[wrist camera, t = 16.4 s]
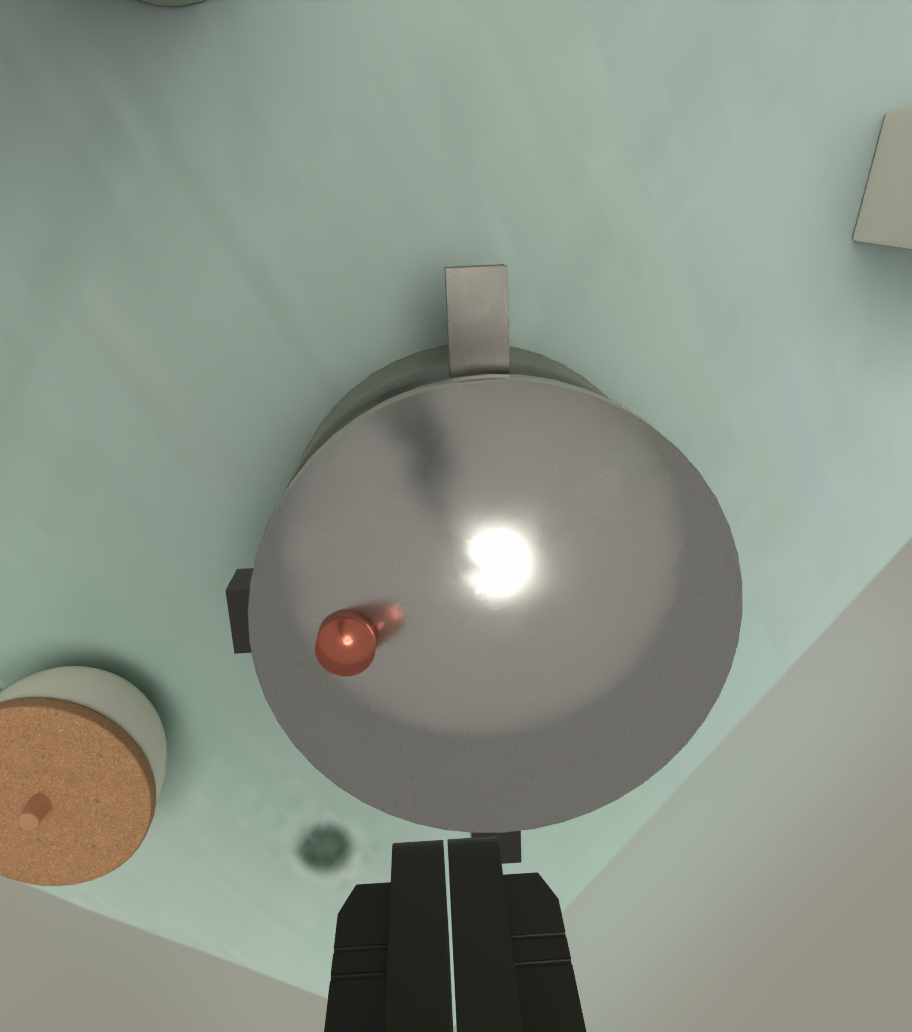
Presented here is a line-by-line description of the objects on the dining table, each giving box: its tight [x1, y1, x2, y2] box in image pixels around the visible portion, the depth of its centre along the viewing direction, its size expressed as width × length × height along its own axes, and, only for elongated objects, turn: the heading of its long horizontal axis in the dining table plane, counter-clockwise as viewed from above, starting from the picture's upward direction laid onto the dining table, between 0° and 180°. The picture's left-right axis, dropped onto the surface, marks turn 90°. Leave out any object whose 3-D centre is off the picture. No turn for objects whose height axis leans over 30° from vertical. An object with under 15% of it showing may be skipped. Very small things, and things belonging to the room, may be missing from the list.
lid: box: [248, 374, 742, 833], centre depth 36 cm, size 20×20×3 cm
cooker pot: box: [226, 264, 609, 864], centre depth 42 cm, size 21×28×11 cm
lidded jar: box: [0, 666, 167, 886], centre depth 46 cm, size 11×11×9 cm
